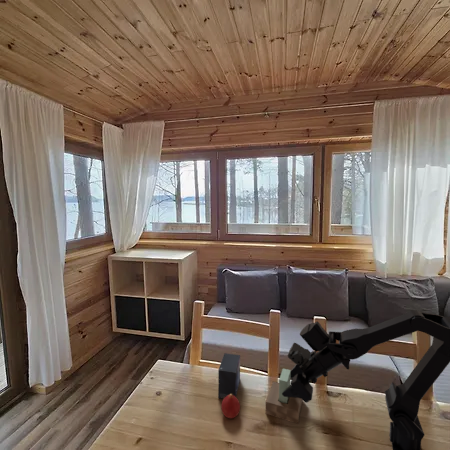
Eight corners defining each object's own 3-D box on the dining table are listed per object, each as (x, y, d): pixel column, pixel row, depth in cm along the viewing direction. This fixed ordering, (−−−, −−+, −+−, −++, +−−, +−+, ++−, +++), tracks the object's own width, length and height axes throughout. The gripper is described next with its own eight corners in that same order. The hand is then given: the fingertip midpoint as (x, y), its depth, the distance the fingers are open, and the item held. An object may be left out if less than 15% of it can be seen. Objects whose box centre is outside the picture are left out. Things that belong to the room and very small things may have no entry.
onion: (217, 417, 84) (217, 393, 83) (231, 407, 88) (230, 384, 87) (230, 428, 80) (230, 403, 79) (243, 418, 83) (243, 394, 83)
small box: (236, 401, 90) (236, 372, 89) (217, 398, 92) (217, 370, 91) (240, 380, 101) (240, 354, 100) (224, 378, 102) (223, 352, 101)
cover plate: (290, 401, 89) (290, 370, 88) (286, 414, 83) (287, 381, 82) (282, 399, 90) (282, 368, 89) (278, 412, 84) (279, 379, 83)
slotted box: (302, 403, 89) (302, 389, 89) (298, 426, 80) (298, 411, 80) (272, 394, 93) (273, 381, 93) (265, 416, 84) (265, 401, 84)
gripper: (308, 325, 90) (275, 349, 96) (300, 355, 73) (260, 382, 79) (332, 353, 88) (297, 375, 93) (329, 390, 71) (287, 415, 76)
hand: (285, 385), depth 86 cm, fingers open, 9 cm apart
